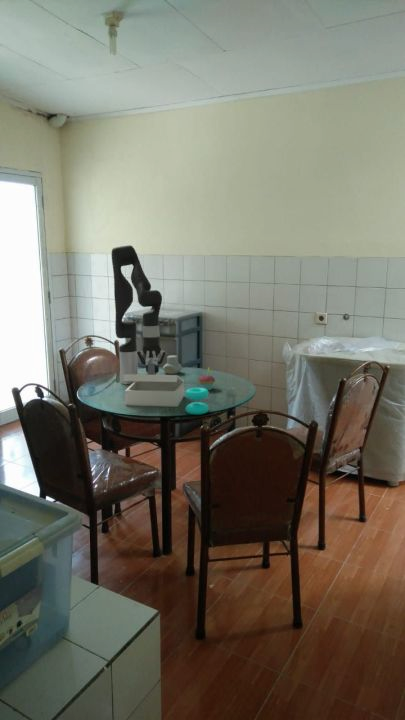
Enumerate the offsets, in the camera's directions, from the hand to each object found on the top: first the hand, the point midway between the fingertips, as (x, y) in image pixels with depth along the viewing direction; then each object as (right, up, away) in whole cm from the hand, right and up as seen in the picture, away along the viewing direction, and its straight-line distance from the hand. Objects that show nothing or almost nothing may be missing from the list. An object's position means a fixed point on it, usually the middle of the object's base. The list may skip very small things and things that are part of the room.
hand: (152, 372), depth 233 cm
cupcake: (+25, -9, +26) cm, 37 cm away
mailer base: (+1, -13, +7) cm, 15 cm away
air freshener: (+6, -2, +61) cm, 62 cm away
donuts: (+20, -17, -11) cm, 29 cm away
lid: (+1, -5, +4) cm, 7 cm away
